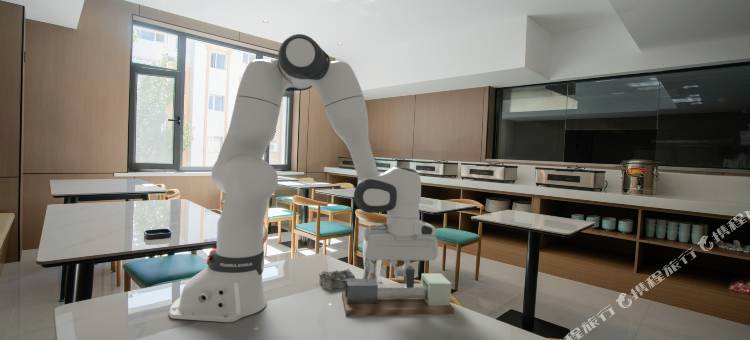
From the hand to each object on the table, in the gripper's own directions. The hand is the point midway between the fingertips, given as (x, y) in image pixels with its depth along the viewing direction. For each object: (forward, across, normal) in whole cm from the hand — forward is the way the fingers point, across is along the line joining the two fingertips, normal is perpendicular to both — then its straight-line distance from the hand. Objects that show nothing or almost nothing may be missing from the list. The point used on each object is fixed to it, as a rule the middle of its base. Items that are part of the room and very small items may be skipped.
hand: (399, 275), depth 100 cm
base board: (+8, 0, 0) cm, 8 cm away
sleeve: (+7, -10, 0) cm, 12 cm away
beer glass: (+8, -4, +18) cm, 20 cm away
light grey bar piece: (+6, -1, 0) cm, 6 cm away
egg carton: (+9, -16, +16) cm, 24 cm away
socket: (+8, +10, 0) cm, 13 cm away
